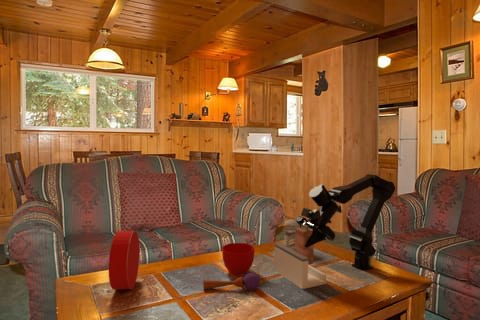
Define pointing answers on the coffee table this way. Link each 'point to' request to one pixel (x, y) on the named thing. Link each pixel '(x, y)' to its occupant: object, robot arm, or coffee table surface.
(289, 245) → the french press
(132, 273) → the toy clock
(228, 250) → the ceramic cup
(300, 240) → the block
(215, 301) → the coffee table surface
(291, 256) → the cleat board
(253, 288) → the kendama
